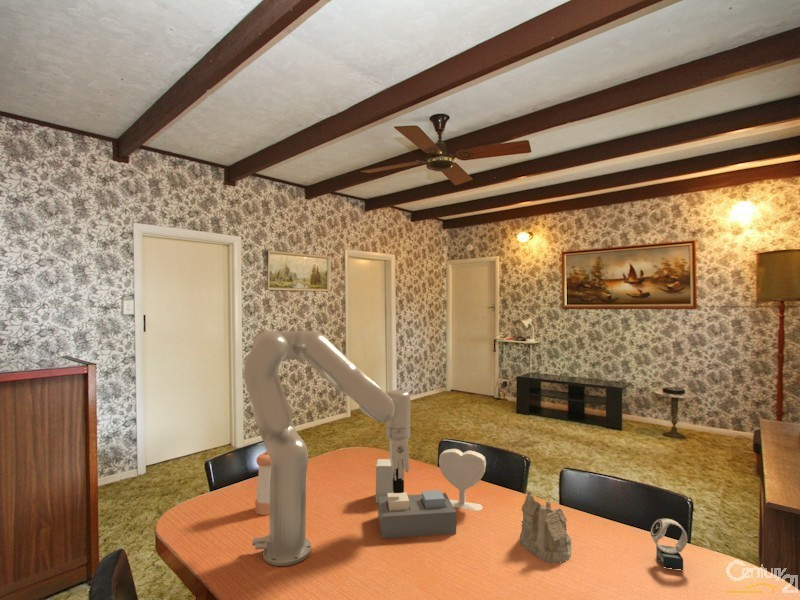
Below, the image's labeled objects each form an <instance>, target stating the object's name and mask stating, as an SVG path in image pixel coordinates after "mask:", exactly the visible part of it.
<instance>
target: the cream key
mask: <svg viewBox="0 0 800 600" xmlns="http://www.w3.org/2000/svg"><path fill="white" fill-rule="evenodd" d="M407 495H408V493H407V491H404V492H403V493H387V508H388V511H398V510H409V499H408V496H407Z"/></svg>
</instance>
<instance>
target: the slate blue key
mask: <svg viewBox="0 0 800 600" xmlns="http://www.w3.org/2000/svg"><path fill="white" fill-rule="evenodd" d="M442 493H443V492H442V490H441V489H438V490H436V489H435V490H422V491H421V494H422V504H423V506H424V509H430V508H445V498H444V496H443V494H442Z"/></svg>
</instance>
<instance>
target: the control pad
mask: <svg viewBox="0 0 800 600" xmlns="http://www.w3.org/2000/svg"><path fill="white" fill-rule="evenodd" d="M442 494H443V496H444V498H445V508H430V509H424V506H423V504H422V493H420V494H407V496H408V499H409V510H398V511H388V508H387V496H384V497H378V503H377V505H378V506H377V508H378V510H377V511H378V512H377V513H378V515H377V518H378V524H379V529H380V530H379V531H380V534H381V535H380V536H381V540H384V539H385V540H387V539H399V538H412V537H416V538H417V537H425V536H426V537H427V536H441V535H442V536H443V535H444V536H445V535H454V534H455V535H456V534H457V510H456V509H455V507H453V505H452V504H451V502H450V500H451V499H449V497H448V495H447V493H446V492H442Z"/></svg>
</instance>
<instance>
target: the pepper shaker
mask: <svg viewBox="0 0 800 600" xmlns="http://www.w3.org/2000/svg"><path fill="white" fill-rule="evenodd" d="M255 461H256V464H257V465H258V479H257V485H256V499H255V502H254V503H255V505H254V506H255V508H254V509H255V511H254V512H255V513H256V515H259V514H260V515H259V516H268V514H269V515H270V476H271V459H270V457H269V454H268V452H267V450H266V451H265V452H263V453H261V454H259V455H258V456H257V458H256V460H255Z"/></svg>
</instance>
